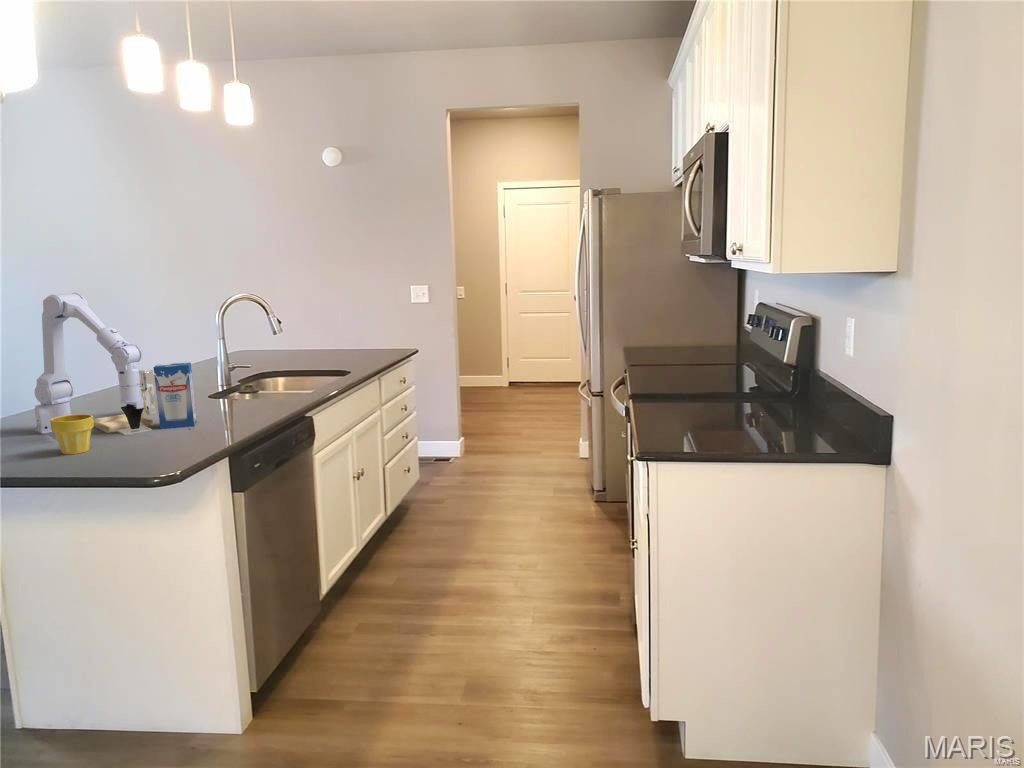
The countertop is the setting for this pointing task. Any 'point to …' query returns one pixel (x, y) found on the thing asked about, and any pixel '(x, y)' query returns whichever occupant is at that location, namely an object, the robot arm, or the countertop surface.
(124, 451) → the countertop surface
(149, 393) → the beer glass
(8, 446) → the countertop surface
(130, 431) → the cover plate
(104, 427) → the tray
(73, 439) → the plant pot
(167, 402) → the milk carton
